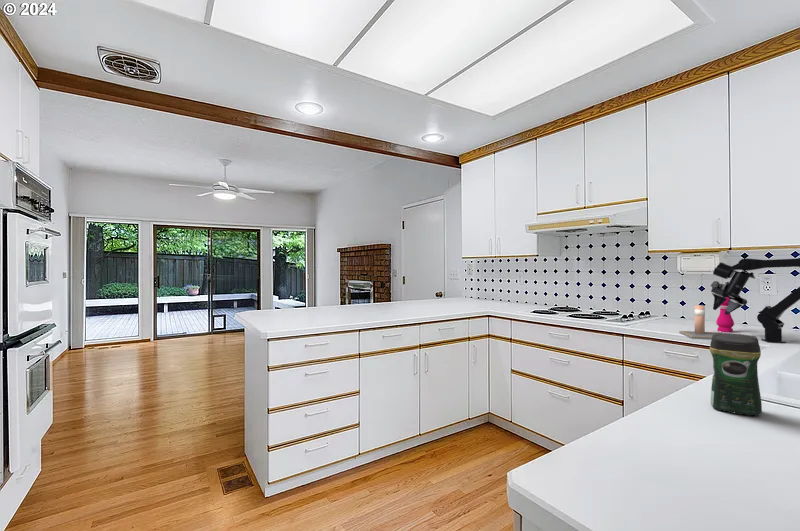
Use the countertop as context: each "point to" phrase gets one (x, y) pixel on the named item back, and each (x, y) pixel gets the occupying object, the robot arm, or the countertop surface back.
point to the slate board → (698, 336)
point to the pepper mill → (724, 319)
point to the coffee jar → (735, 373)
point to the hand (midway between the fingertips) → (719, 311)
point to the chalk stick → (699, 319)
